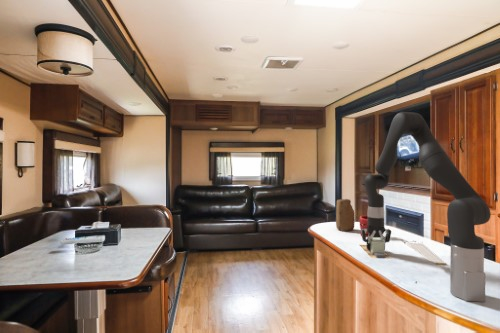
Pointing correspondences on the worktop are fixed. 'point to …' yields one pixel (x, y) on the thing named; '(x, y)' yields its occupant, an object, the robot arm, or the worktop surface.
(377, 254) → the gray square tile
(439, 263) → the baseboard
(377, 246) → the block
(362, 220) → the plant pot
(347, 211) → the block
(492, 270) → the worktop surface
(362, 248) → the oak board
